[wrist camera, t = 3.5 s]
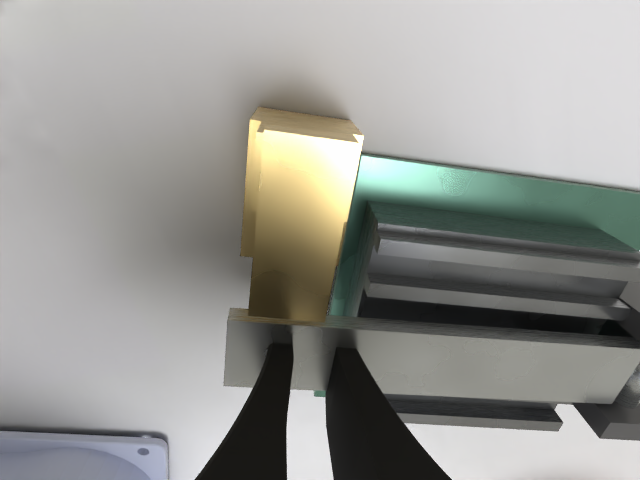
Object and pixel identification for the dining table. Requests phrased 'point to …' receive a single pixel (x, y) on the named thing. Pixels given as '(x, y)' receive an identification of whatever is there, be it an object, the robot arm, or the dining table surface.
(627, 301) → the grey forked bracket
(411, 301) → the block
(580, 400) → the grey long flat bar
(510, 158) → the dining table surface
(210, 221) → the dining table surface
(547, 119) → the dining table surface
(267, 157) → the clip
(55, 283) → the dining table surface
